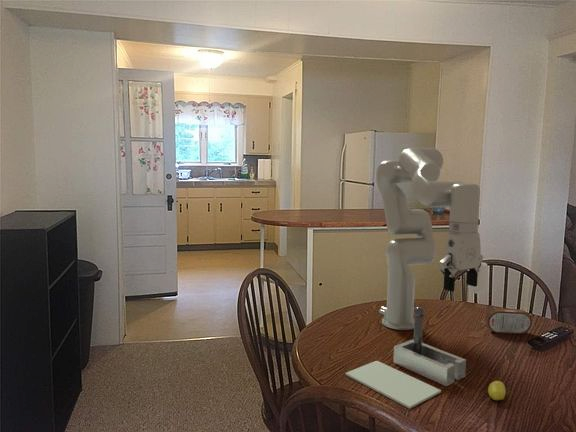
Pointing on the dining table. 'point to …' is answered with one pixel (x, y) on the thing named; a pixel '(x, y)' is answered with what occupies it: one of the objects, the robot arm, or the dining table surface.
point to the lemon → (497, 390)
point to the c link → (430, 362)
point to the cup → (480, 279)
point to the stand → (418, 329)
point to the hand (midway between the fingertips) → (460, 287)
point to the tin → (508, 321)
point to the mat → (393, 384)
